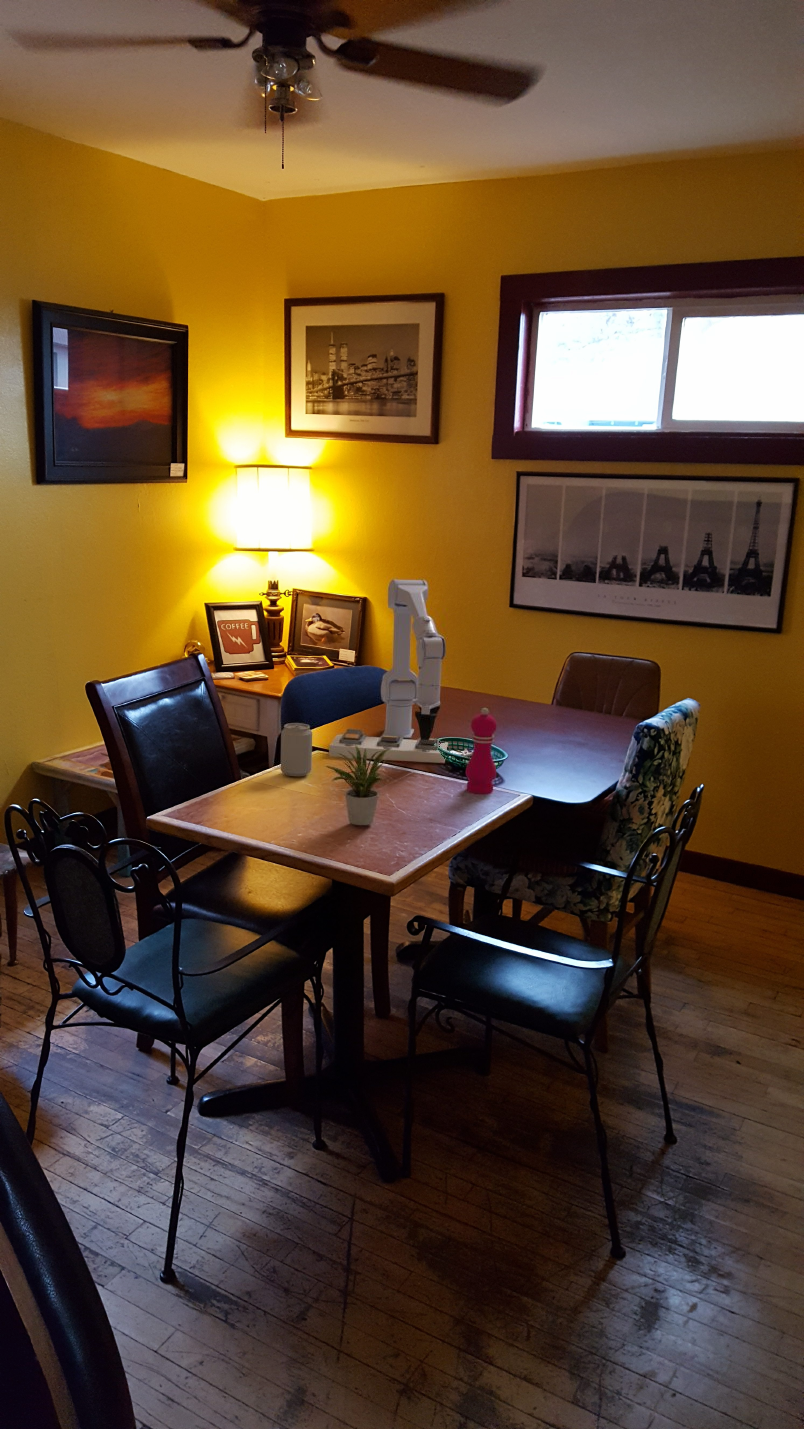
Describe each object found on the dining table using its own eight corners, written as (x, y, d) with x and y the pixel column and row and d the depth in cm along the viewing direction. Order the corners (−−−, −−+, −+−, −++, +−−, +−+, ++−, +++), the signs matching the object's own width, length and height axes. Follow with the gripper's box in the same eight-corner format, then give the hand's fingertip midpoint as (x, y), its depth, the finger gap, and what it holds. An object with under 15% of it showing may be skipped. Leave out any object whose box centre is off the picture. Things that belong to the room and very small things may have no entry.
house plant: (360, 804, 227) (363, 733, 223) (409, 819, 218) (412, 745, 215) (316, 818, 216) (317, 744, 212) (365, 835, 207) (367, 757, 204)
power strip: (337, 745, 277) (337, 731, 276) (490, 756, 272) (491, 742, 271) (329, 756, 265) (329, 741, 264) (489, 768, 261) (490, 753, 260)
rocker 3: (421, 741, 271) (421, 737, 271) (436, 742, 271) (436, 738, 271) (419, 743, 265) (419, 739, 265) (434, 744, 265) (434, 740, 265)
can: (275, 775, 246) (276, 726, 244) (287, 767, 253) (288, 720, 251) (304, 778, 244) (305, 730, 242) (315, 771, 251) (317, 723, 249)
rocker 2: (384, 738, 272) (384, 734, 272) (399, 739, 272) (399, 735, 272) (381, 740, 266) (381, 736, 266) (396, 741, 266) (396, 737, 266)
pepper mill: (496, 795, 238) (501, 712, 233) (465, 794, 238) (470, 710, 233) (494, 786, 245) (499, 705, 240) (463, 785, 245) (468, 703, 240)
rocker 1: (347, 732, 273) (347, 728, 273) (362, 733, 273) (362, 729, 273) (343, 741, 268) (343, 737, 267) (358, 742, 267) (358, 738, 267)
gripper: (416, 677, 266) (414, 728, 269) (410, 688, 252) (407, 741, 255) (443, 679, 266) (440, 730, 269) (438, 690, 252) (436, 743, 254)
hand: (426, 735), depth 262 cm, fingers open, 7 cm apart
